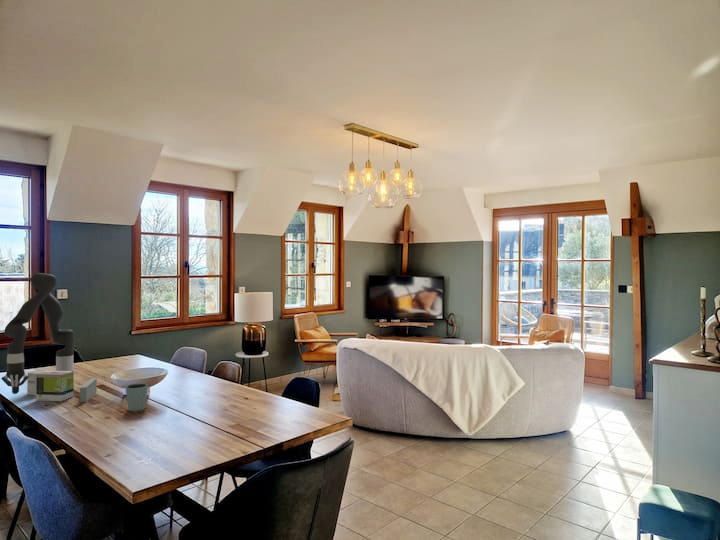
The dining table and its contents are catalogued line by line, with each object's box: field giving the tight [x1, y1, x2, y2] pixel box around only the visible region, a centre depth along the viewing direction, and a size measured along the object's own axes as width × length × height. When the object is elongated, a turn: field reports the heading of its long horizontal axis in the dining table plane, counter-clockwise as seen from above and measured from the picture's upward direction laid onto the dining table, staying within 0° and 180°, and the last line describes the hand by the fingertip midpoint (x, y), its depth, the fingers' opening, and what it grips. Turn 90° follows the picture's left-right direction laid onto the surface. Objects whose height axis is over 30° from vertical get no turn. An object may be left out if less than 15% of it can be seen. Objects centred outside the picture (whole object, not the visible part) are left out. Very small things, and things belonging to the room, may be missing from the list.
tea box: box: [35, 370, 75, 402], centre depth 268 cm, size 15×10×15 cm, turn 84°
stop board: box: [79, 377, 98, 403], centre depth 273 cm, size 22×3×8 cm, turn 15°
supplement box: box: [26, 369, 46, 397], centre depth 278 cm, size 7×7×13 cm
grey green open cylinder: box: [125, 382, 149, 412], centre depth 251 cm, size 10×10×12 cm
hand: (15, 393), depth 263 cm, fingers closed
